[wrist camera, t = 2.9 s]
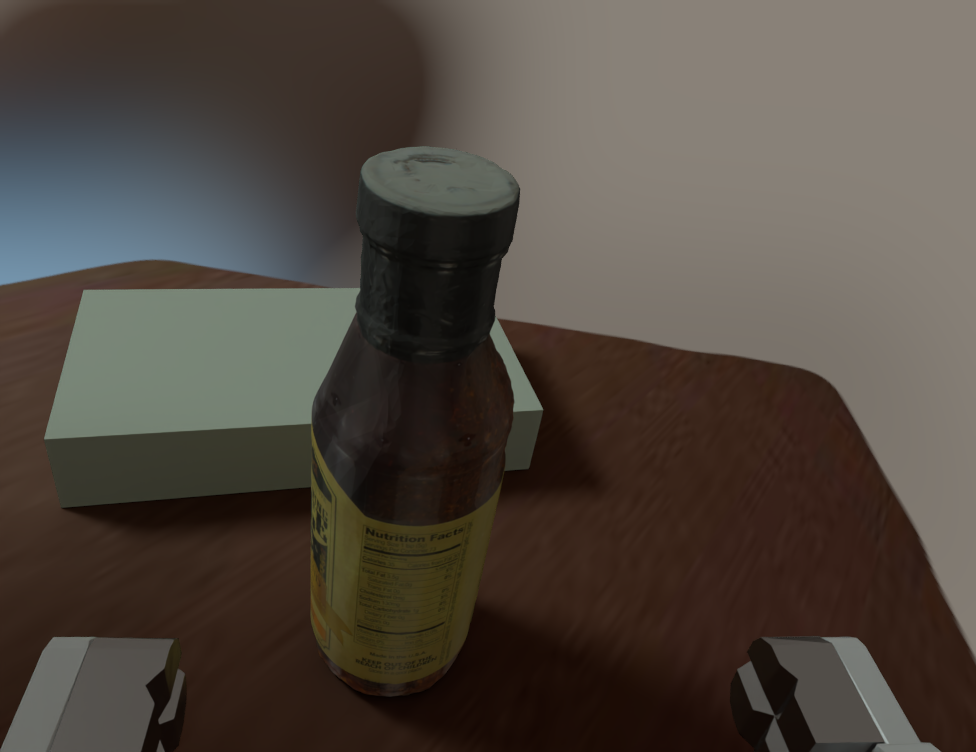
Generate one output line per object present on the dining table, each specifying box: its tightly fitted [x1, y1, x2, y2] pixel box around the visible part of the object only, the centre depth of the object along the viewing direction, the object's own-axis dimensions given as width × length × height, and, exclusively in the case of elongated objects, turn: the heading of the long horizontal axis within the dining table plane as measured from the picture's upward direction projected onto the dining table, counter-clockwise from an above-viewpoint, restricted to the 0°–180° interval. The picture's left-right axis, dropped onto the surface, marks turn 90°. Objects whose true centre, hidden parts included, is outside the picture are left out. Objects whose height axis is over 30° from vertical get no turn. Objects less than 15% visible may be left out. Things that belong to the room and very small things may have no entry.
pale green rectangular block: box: [44, 288, 543, 508], centre depth 40 cm, size 22×12×4 cm, turn 106°
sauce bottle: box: [311, 147, 520, 697], centre depth 25 cm, size 7×6×20 cm
